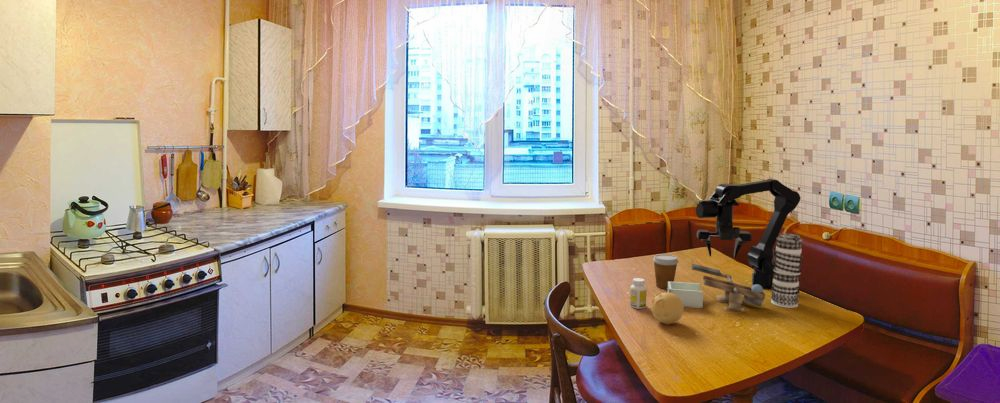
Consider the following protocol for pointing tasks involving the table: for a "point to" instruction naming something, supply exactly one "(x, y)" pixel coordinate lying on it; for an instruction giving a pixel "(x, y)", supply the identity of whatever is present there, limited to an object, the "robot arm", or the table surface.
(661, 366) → the table surface
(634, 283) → the supplement bottle
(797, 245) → the decorative candle
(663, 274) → the disposable coffee cup
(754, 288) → the ball
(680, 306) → the stress ball
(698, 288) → the white storage tray
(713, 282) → the lever
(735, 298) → the fulcrum stand
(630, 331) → the table surface
